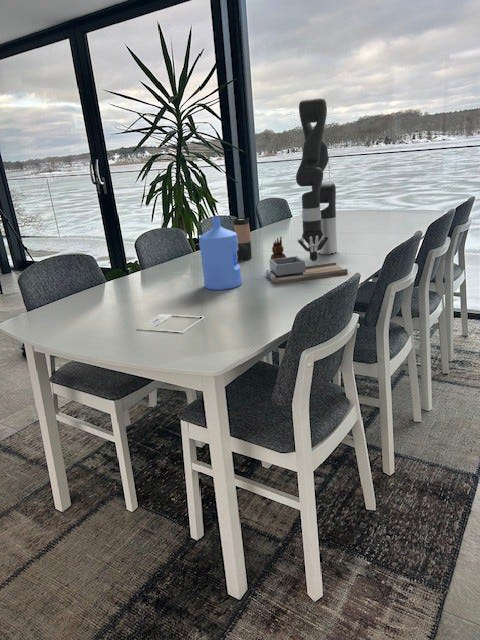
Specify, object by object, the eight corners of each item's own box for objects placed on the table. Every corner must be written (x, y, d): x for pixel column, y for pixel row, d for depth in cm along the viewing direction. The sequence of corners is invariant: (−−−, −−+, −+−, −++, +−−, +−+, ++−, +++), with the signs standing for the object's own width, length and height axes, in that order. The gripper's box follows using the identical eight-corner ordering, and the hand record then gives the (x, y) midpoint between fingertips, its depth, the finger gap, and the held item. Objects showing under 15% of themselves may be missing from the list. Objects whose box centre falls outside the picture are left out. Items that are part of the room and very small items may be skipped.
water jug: (214, 293, 197) (205, 221, 188) (198, 285, 211) (190, 218, 201) (248, 285, 204) (242, 215, 194) (231, 278, 217) (225, 213, 208)
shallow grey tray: (270, 273, 213) (269, 259, 211) (297, 269, 215) (296, 256, 213) (277, 280, 202) (276, 265, 200) (305, 276, 203) (305, 261, 201)
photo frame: (160, 313, 176) (205, 316, 169) (161, 316, 177) (205, 319, 169) (136, 327, 164) (183, 331, 156) (136, 331, 164) (183, 334, 157)
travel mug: (254, 257, 253) (251, 217, 246) (248, 260, 246) (244, 219, 240) (241, 257, 256) (237, 217, 250) (234, 260, 250) (230, 220, 243)
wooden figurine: (288, 268, 224) (286, 235, 219) (284, 271, 219) (282, 237, 214) (273, 268, 226) (271, 235, 221) (270, 271, 221) (267, 238, 216)
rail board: (266, 276, 214) (266, 269, 213) (335, 267, 218) (335, 260, 217) (274, 284, 201) (273, 277, 200) (347, 274, 205) (347, 267, 204)
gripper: (324, 215, 207) (326, 256, 213) (293, 219, 206) (296, 260, 211) (330, 218, 200) (331, 260, 206) (298, 221, 199) (300, 264, 204)
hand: (313, 260), depth 209 cm, fingers closed
